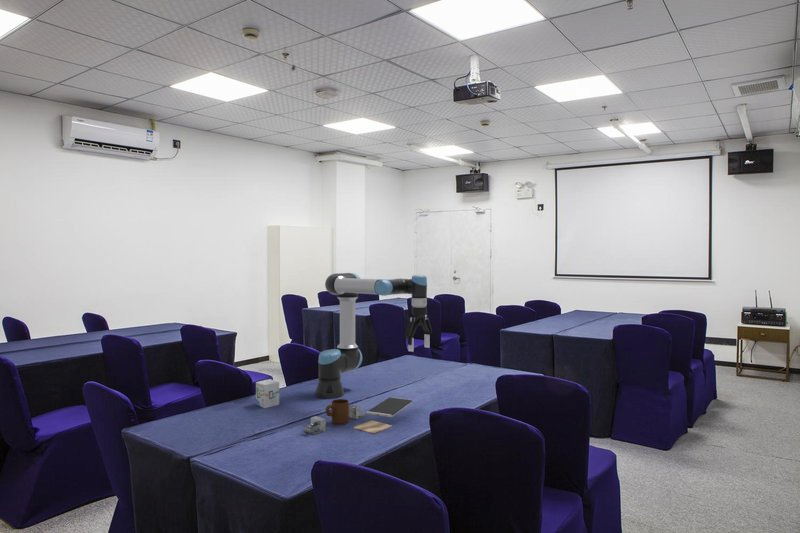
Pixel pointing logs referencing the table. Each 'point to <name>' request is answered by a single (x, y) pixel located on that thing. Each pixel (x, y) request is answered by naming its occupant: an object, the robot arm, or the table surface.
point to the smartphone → (389, 407)
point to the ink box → (267, 393)
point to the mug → (339, 411)
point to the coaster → (372, 427)
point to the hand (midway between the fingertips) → (419, 349)
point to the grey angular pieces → (320, 423)
